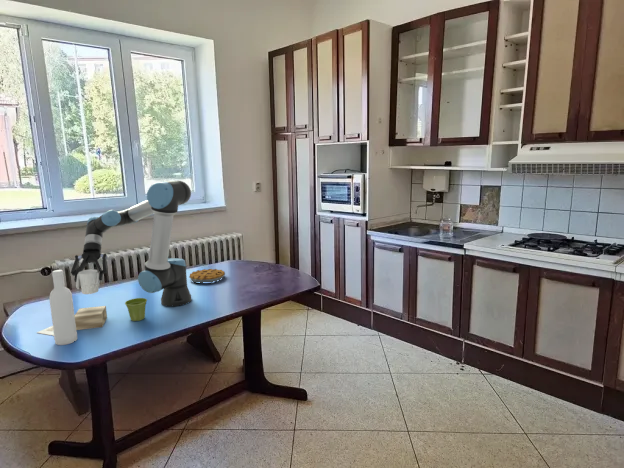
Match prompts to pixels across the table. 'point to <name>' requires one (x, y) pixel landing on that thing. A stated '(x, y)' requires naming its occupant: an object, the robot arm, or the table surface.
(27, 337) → the table surface
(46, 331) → the page
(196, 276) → the pie
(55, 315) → the bottle
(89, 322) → the beech block
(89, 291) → the white cup
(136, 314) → the plant pot
